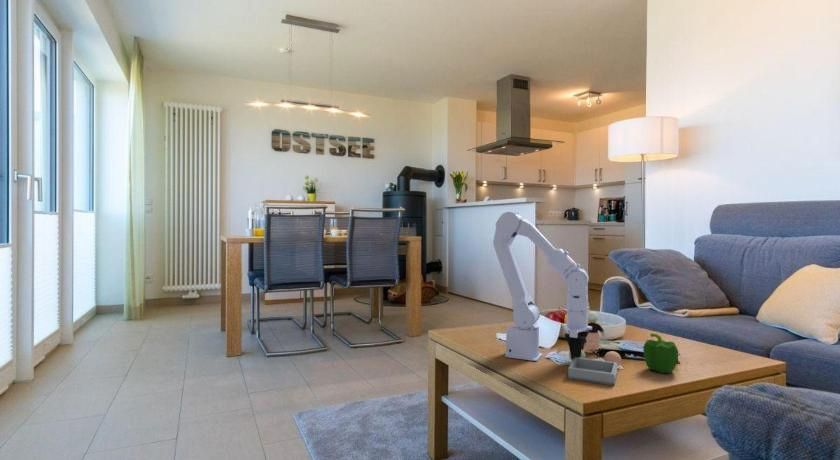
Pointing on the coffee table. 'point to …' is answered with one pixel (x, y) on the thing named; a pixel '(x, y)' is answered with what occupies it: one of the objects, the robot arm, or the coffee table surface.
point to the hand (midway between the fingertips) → (576, 357)
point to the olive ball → (580, 356)
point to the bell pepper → (660, 354)
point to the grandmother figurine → (593, 333)
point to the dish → (593, 371)
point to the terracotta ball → (613, 357)
